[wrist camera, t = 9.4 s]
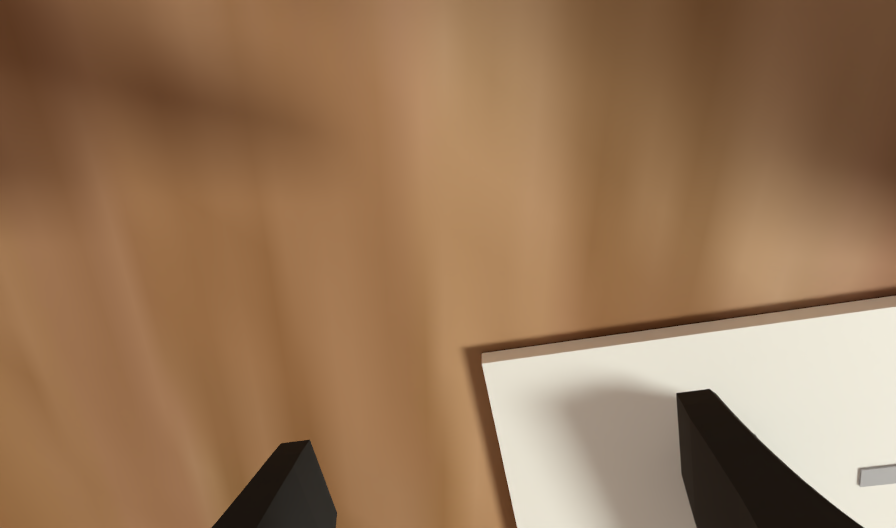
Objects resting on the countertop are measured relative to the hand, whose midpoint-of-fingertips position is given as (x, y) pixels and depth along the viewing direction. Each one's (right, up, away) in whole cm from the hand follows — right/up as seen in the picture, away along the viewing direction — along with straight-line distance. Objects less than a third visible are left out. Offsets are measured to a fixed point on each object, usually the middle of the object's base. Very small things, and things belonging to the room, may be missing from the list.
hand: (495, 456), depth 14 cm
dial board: (+9, -4, +12) cm, 16 cm away
